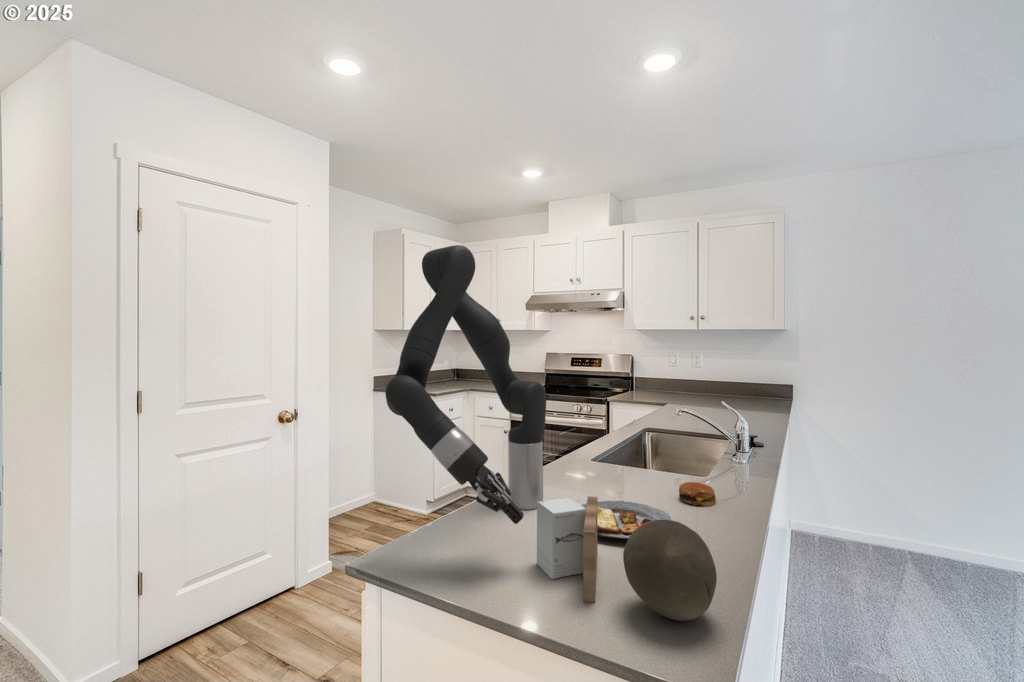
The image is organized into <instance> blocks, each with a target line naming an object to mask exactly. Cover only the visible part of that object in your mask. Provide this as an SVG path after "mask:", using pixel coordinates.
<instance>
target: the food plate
mask: <svg viewBox="0 0 1024 682" xmlns="http://www.w3.org/2000/svg"><path fill="white" fill-rule="evenodd" d="M580 505H581V506H582V507H584V508H585V509H586V507H587V502H586V503H583V504H582V503H581V504H580ZM615 514H619V516H617V517H616V516H615ZM653 520H672V519H671V517H670V515H669V513H668V512H666V511H664V510H661V509H659V508H656V507H653V506H649V505H647V504H643V503H639V502H632V501H624V500H600V501H599V500H598V532H597V537H598V536H599V537H601V538H612V539H613V538H614V539H620V540H621V539H623V540H624V539H625V540H628V538H629V536H630V535H631V534H632V533H633V531H634V530H636V529H637V528H638V527H640V526H641V525H643V524H644V523H646V522H648V521H653Z"/></svg>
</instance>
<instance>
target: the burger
mask: <svg viewBox="0 0 1024 682" xmlns="http://www.w3.org/2000/svg"><path fill="white" fill-rule="evenodd" d="M678 492H679V493H678V494H679V495H678V496H679V499H681V500H682V502H684V503H687V504H690V505H693V506H701V507H706V508H707V507H710V506H712V507H713V505H715V503H716V499H717V497H716V494H715V489H714V488H713V487H712V486H710V485H708V484H705V483H701V482H697V481H696V482H695V481H694V482H693V481H688V482H684V483H681V484H680V486H679V489H678Z"/></svg>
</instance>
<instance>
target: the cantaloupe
mask: <svg viewBox="0 0 1024 682" xmlns="http://www.w3.org/2000/svg"><path fill="white" fill-rule="evenodd" d="M622 556H623V566H624V570H625V575H626V578H627V581H628V583H629V585H630V586H631V588H632V590H633V591H634V592H635V594H636V595H637V596H638V598H639V599H640V600H642V602H643V603H644V604H645V605H646V606H647V607H649V608H650V609H651V610H653V612H656V613H657V614H658V615H661V616H663V617H665V618H667V619H671V620H674V621H679V622H685V621H687V622H688V621H692V620H695V619H698V618H700V617H701V616H702V615H704V613H706V612H707V611H708V609H709V608H710V606H711V603H712V600H713V598H714V595H715V591H716V588H717V569H716V564H715V561H714V559H713V556H712V554H711V550H709V547H708V545H707V543H706V542H705V541H704V539H703V538H702V537H701V535H699V533H698V532H696V531H695V530H693V529H692V528H690V527H689V526H687V525H685V524H683V523H681V522H679V521H676V520H672V519H671V520H653V521H648V522H646V523H644V524H643V525H641V526H640V527H638V528H637V529H636V530H634V531H633V533H632V534H631V535H630V536H629V538H628V539H627V540H626V543H625V545H624V548H623V555H622Z"/></svg>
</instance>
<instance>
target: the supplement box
mask: <svg viewBox="0 0 1024 682" xmlns="http://www.w3.org/2000/svg"><path fill="white" fill-rule="evenodd" d="M581 505H582V504H579V503H578V502H576V501H574V500H573V499H571V498H570V497H565V498H558V499H551V500H549V499H548V500H543V501H541V502H537V508H536V564H537V565H538V566H539V567H540V568H541V570H542V571H543V572H544V573H545V574H546V575H547V576H548V577H549V578H550V579H551V580H554V579H558V578H563V577H570V576H574V575H579V574H583V531H584V523H585V515H586V509H585V508H584V507H582V506H581Z"/></svg>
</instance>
